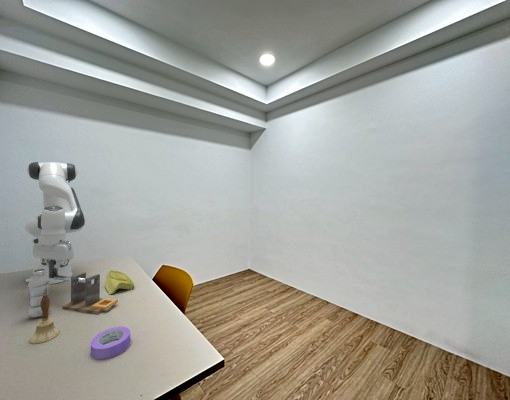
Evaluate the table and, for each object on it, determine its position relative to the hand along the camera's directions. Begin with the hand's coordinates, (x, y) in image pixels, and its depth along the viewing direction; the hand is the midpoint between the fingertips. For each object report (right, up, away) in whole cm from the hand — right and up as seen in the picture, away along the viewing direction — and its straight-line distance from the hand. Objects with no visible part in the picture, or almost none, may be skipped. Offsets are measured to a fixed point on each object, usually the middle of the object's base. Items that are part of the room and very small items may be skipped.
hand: (53, 267), depth 105 cm
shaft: (+9, -6, -2) cm, 11 cm away
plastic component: (+21, -17, +19) cm, 33 cm away
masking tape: (+48, -19, -29) cm, 59 cm away
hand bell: (+20, -18, -25) cm, 37 cm away
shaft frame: (+21, -17, -4) cm, 28 cm away
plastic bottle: (+5, -17, -12) cm, 22 cm away
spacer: (+29, -16, -5) cm, 33 cm away
